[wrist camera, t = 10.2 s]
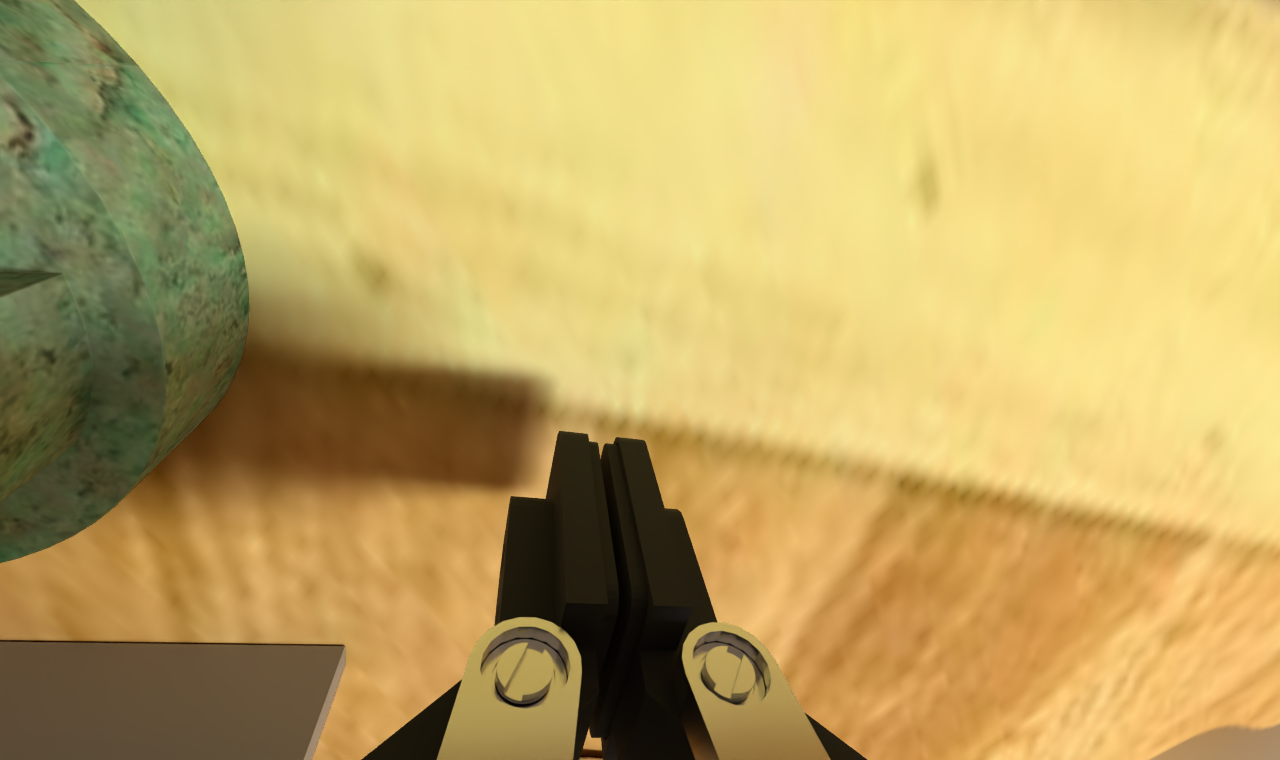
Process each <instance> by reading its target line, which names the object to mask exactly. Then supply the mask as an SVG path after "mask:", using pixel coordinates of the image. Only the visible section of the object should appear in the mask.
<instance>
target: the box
mask: <svg viewBox="0 0 1280 760" xmlns="http://www.w3.org/2000/svg"><path fill="white" fill-rule="evenodd" d="M344 668H345V646H299V645H222V644H144V643H67V642H0V760H312V759H313V756H314V753H315V750H316V747H317V745H318V742H319V739H320V736H321V733H322V730H323V728H324V725H325V722H326V719H327V716H328V713H329V710H330V708H331V705H332V702H333V699H334V696H335V693H336V691H337V688H338V685H339V682H340V679H341V676H342V673H343V671H344Z"/></svg>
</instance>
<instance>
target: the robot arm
mask: <svg viewBox="0 0 1280 760" xmlns="http://www.w3.org/2000/svg"><path fill="white" fill-rule="evenodd" d="M588 729H590V735H591V737H592V738H600V737H601V741H602V754H603V758H592V757H580V756H581V752H582V749H583V746H584V742H585V739H586V735H587V732H588ZM362 760H867V759H866V758H864V757H863V756H862V755H860V754H859V753H858V752H856V751H855V750H854V749H852V748H851V747H850V746H848V745H847V744H846V743H844V742H843V741H842V740H840V739H839V738H838V737H836V736H835V735H834V734H832V733H831V732H830V731H828V730H827V729H826V728H824V727H823V726H822V725H820V724H819V723H818V722H816V721H815V720H814V719H812V718H811V717H810V716H808V715H807V714H806V713H804V711H803V709H802V707H801V705H800V704H799V702H798V700H797V698H796V696H795V695H794V693H793V691H792V689H791V687H790V686H789V684H788V682H787V680H786V678H785V677H784V675H783V673H782V671H781V669H780V668H779V666H778V664H777V662H776V660H775V659H774V657H773V656H772V655H771V653H770V652H769V650H768V649H767V648H766V646H765V645H764V644H762V643H761V642H760V641H759V640H758V639H757V638H756V637H755V636H754V635H752V634H750V633H749V632H747V631H745V630H743V629H742V628H740V627H737V626H734V625H730V624H727V623H717V620H716V617H715V614H714V610H713V607H712V604H711V601H710V598H709V595H708V592H707V589H706V586H705V583H704V580H703V577H702V574H701V571H700V567H699V564H698V561H697V558H696V555H695V552H694V549H693V546H692V543H691V540H690V537H689V534H688V531H687V528H686V524H685V521H684V518H683V516H682V514H681V512H680V511H679V510H678V509H666V508H664V505H663V501H662V498H661V494H660V491H659V487H658V484H657V480H656V477H655V473H654V470H653V466H652V463H651V459H650V456H649V452H648V449H647V445H646V443H645V441H644V440H638V439H629V438H620V437H617V438H616V439H615V441H614V444H607V443H606V444H605V445H604V447H603V451H602V455H601V460H600V454H599V447H598V443H597V442H589V438H588V434H583V433H574V432H565V431H559V433H558V436H557V441H556V446H555V452H554V457H553V462H552V468H551V473H550V478H549V484H548V489H547V495H546V499H539V498H527V497H514V496H511V498H510V504H509V510H508V517H507V523H506V530H505V537H504V544H503V552H502V560H501V569H500V578H499V587H498V597H497V606H496V616H495V625H494V627H492V628H490V629H489V630H488V631H487V632H486V633H485V634H484V635H483V636H482V637H481V638H480V639H479V640H478V641H477V642H476V644H475V646H474V648H473V650H472V652H471V654H470V656H469V659H468V663H467V666H466V669H465V672H464V675H463V678H462V680H461V681H459V682H458V683H457V684H456V685H454V686H453V687H452V688H451V689H449V690H448V691H447V692H446V693H444V694H443V695H442V696H441V697H439V698H438V699H437V700H436V701H434V702H433V703H432V704H431V705H429V706H428V707H427V708H426V709H424V710H423V711H422V712H421V713H419V714H418V715H417V716H416V717H414V718H413V719H412V720H411V721H409V722H408V723H407V724H406V725H404V726H403V727H402V728H401V729H399V730H398V731H397V732H396V733H394V734H393V735H392V736H391V737H389V738H388V739H387V740H386V741H384V742H383V743H382V744H381V745H379V746H378V747H377V748H376V749H374V750H373V751H372V752H370V753H369V754H368V755H367V756H365V757H364V758H363V759H362Z"/></svg>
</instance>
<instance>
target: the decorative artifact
mask: <svg viewBox="0 0 1280 760" xmlns="http://www.w3.org/2000/svg"><path fill="white" fill-rule="evenodd" d="M248 320H249V291H248V279H247V273H246V267H245V261H244V256H243V252H242V248H241V245H240V241H239V238H238V234H237V230H236V227H235V224H234V222H233V219H232V217H231V214H230V211H229V209H228V206H227V203H226V201H225V198H224V196H223V194H222V192H221V190H220V188H219V186H218V184H217V182H216V180H215V178H214V176H213V174H212V171H211V169H210V167H209V166H208V164H207V162H206V161H205V159H204V157H203V155H202V154H201V152H200V150H199V149H198V147H197V145H196V144H195V142H194V140H193V138H192V137H191V135H190V134H189V132H188V131H187V129H186V128H185V126H184V125H183V123H182V122H181V121H180V119H179V118H178V116H177V115H176V113H175V112H174V111H173V109H172V108H171V106H170V105H169V103H168V102H167V101H166V99H165V98H164V97H163V96H162V94H161V93H160V92H159V91H158V89H157V88H156V87H155V86H154V84H153V83H152V82H151V81H150V79H149V78H148V77H147V76H146V75H145V73H144V72H143V71H142V70H141V68H140V67H139V66H138V65H137V64H136V63H135V62H134V60H133V59H132V58H131V57H130V56H129V55H128V54H127V53H126V52H125V51H124V50H123V49H122V47H121V46H120V45H119V44H118V43H117V42H116V41H115V40H114V39H113V38H112V37H111V36H110V34H109V33H108V32H107V31H106V30H105V29H104V28H103V27H102V26H101V25H100V24H98V23H97V22H96V21H95V20H94V19H93V18H92V17H91V16H90V15H89V14H88V13H87V12H86V11H85V10H84V9H83V8H82V7H81V6H80V5H79V4H77V3H76V2H75V1H74V0H0V563H2V562H6V561H10V560H14V559H18V558H21V557H24V556H27V555H29V554H32V553H35V552H38V551H41V550H43V549H46V548H49V547H51V546H53V545H55V544H57V543H59V542H61V541H64V540H66V539H68V538H70V537H72V536H74V535H75V534H77V533H79V532H80V531H82V530H84V529H85V528H87V527H88V526H90V525H92V524H93V523H95V522H96V521H97V520H99V519H100V518H101V517H102V516H104V515H105V514H106V513H107V512H109V511H110V510H111V509H112V508H114V507H115V506H116V505H117V504H118V503H119V502H120V501H121V500H122V499H123V498H124V497H125V496H126V495H127V494H128V493H129V492H130V491H131V490H132V489H133V488H134V487H135V486H136V485H137V484H139V483H140V482H141V481H142V480H143V479H144V478H145V477H146V476H147V475H148V474H149V473H150V472H151V471H152V470H153V469H154V468H155V467H156V466H157V465H158V464H159V463H160V462H161V461H162V460H163V459H164V458H165V457H166V456H167V455H168V454H169V453H170V452H171V451H172V450H173V449H174V448H176V447H177V446H178V445H179V444H180V443H181V442H182V441H183V440H184V439H185V438H186V437H187V436H188V435H189V434H190V433H191V432H192V431H193V430H194V429H195V428H196V427H197V426H198V425H199V424H200V423H201V422H202V421H203V420H204V419H205V418H206V417H207V416H208V415H209V414H210V413H211V412H212V411H213V410H214V408H215V407H216V406H217V404H218V403H219V401H220V400H221V399H222V397H223V396H224V395H225V393H226V392H227V390H228V388H229V386H230V384H231V382H232V380H233V378H234V377H235V375H236V372H237V369H238V367H239V364H240V361H241V358H242V355H243V352H244V347H245V342H246V337H247V333H248Z"/></svg>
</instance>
